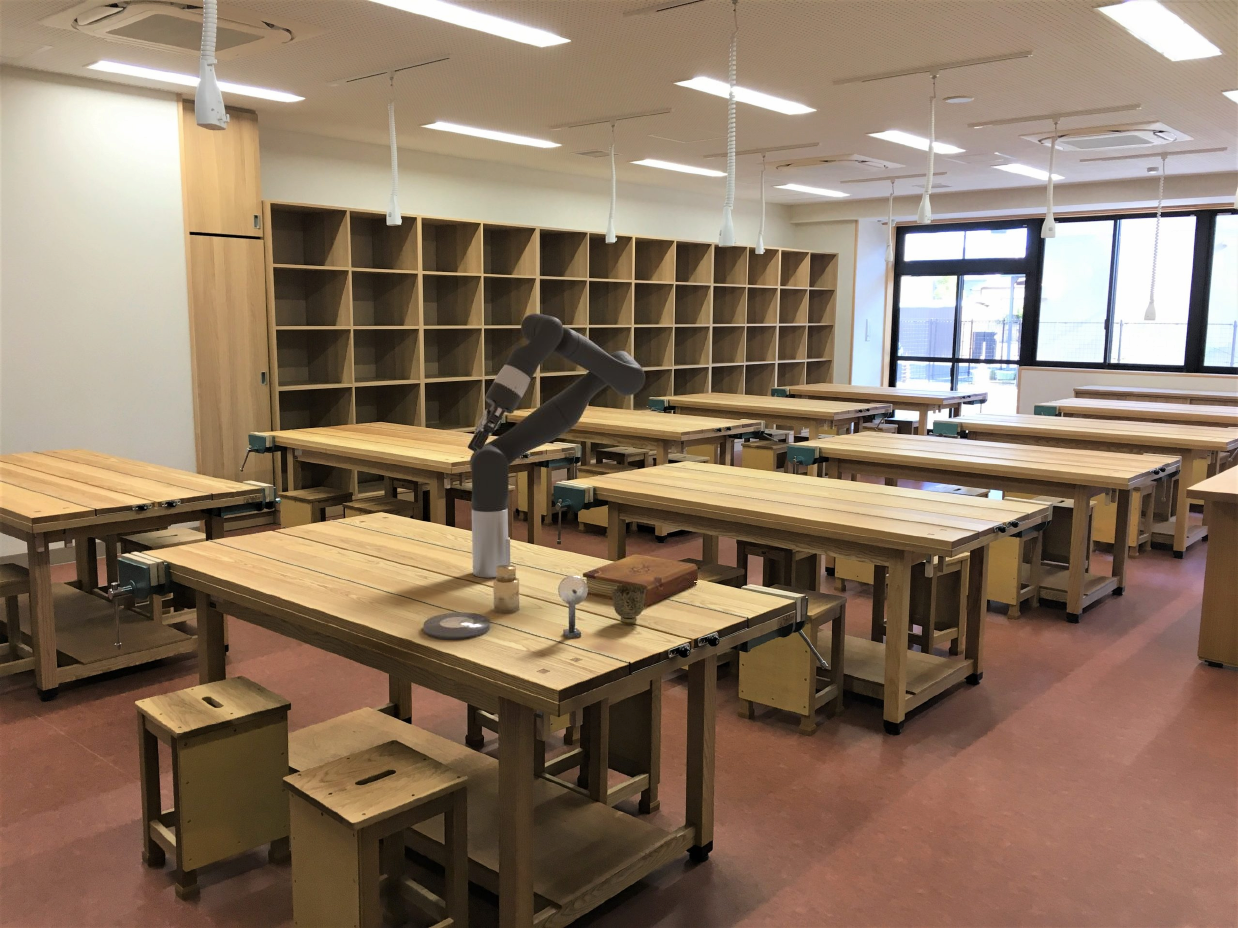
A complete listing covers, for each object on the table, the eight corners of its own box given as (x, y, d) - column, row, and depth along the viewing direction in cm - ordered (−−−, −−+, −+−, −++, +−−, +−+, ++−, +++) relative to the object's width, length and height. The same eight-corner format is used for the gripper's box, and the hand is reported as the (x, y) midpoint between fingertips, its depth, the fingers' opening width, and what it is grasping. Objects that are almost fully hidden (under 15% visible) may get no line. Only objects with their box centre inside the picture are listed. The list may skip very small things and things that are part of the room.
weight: (516, 605, 220) (515, 563, 218) (522, 612, 214) (521, 569, 213) (491, 607, 218) (490, 565, 216) (496, 614, 212) (496, 571, 211)
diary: (648, 609, 219) (648, 585, 218) (582, 596, 229) (582, 573, 228) (697, 586, 237) (697, 563, 236) (635, 574, 248) (635, 553, 247)
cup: (626, 615, 212) (626, 580, 211) (652, 622, 207) (652, 586, 206) (604, 623, 206) (604, 588, 205) (631, 630, 202) (631, 594, 200)
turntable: (483, 616, 211) (482, 609, 211) (496, 635, 198) (496, 628, 198) (419, 622, 207) (419, 615, 206) (428, 642, 194) (428, 635, 193)
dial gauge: (583, 631, 201) (583, 572, 199) (589, 637, 197) (589, 576, 195) (556, 634, 199) (555, 574, 197) (561, 640, 195) (561, 579, 193)
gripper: (527, 394, 216) (492, 456, 213) (516, 400, 229) (483, 458, 226) (499, 377, 214) (463, 439, 211) (489, 384, 227) (455, 442, 225)
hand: (473, 449), depth 219 cm, fingers open, 8 cm apart
